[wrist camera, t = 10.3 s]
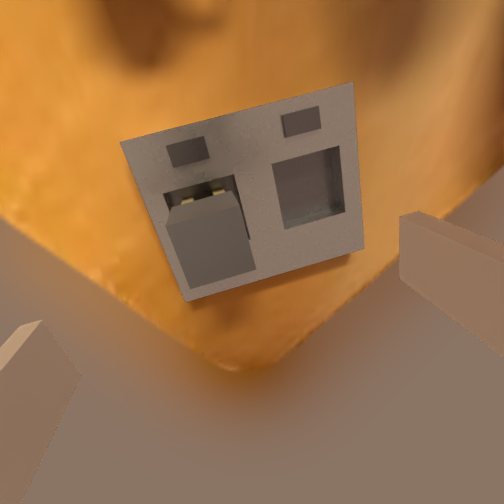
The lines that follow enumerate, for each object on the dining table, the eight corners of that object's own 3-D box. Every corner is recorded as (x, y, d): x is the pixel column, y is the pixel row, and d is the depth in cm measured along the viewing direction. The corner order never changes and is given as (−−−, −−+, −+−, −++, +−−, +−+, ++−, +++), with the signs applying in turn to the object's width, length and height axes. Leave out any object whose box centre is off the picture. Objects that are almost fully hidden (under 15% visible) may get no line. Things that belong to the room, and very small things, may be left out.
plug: (175, 195, 27) (165, 226, 18) (226, 181, 27) (239, 205, 18) (192, 242, 29) (190, 289, 20) (239, 228, 29) (256, 269, 21)
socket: (126, 141, 25) (118, 142, 22) (339, 86, 26) (355, 81, 23) (186, 290, 31) (185, 304, 29) (352, 240, 33) (366, 250, 30)
